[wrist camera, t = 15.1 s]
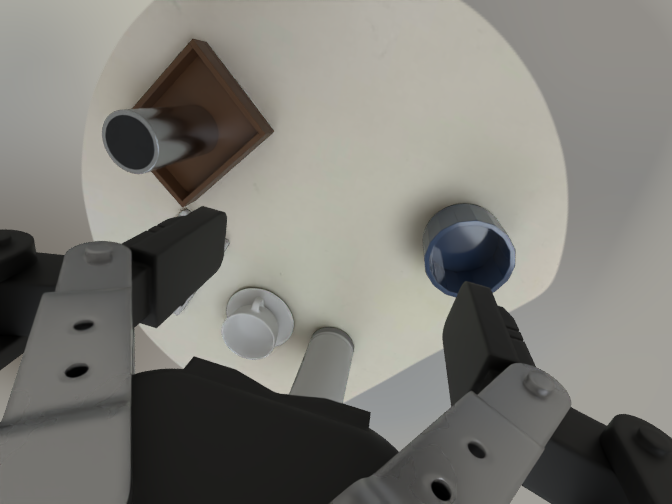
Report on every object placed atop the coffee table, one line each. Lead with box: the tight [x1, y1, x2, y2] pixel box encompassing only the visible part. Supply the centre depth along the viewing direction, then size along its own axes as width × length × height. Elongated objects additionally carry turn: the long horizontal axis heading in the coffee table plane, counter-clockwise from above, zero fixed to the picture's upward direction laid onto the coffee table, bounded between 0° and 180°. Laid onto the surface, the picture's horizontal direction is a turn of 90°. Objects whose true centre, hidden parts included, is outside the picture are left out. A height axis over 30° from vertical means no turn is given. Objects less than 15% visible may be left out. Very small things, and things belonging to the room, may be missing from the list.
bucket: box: [423, 204, 515, 297], centre depth 39 cm, size 9×9×6 cm
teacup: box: [221, 288, 293, 360], centre depth 49 cm, size 10×10×5 cm
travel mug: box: [289, 328, 354, 403], centre depth 42 cm, size 6×7×20 cm
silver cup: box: [102, 105, 219, 174], centre depth 36 cm, size 5×5×11 cm
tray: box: [132, 39, 274, 207], centre depth 41 cm, size 14×11×3 cm
